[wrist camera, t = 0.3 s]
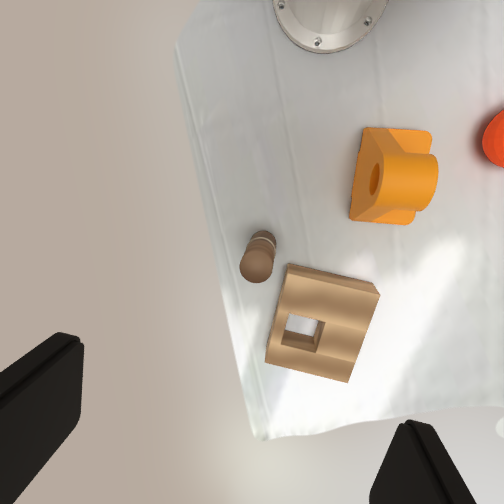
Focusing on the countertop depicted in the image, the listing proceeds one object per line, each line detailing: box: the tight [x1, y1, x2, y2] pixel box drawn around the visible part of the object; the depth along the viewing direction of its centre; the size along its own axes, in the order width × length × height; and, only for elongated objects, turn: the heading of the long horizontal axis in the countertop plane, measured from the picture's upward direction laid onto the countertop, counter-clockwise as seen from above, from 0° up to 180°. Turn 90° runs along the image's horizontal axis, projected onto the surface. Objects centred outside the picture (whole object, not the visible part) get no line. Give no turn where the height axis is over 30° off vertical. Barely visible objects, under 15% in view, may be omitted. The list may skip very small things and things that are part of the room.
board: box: [265, 263, 380, 383], centre depth 43 cm, size 14×12×4 cm
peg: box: [240, 231, 276, 283], centre depth 38 cm, size 4×4×10 cm
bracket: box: [349, 127, 438, 225], centre depth 33 cm, size 11×7×12 cm, turn 176°
